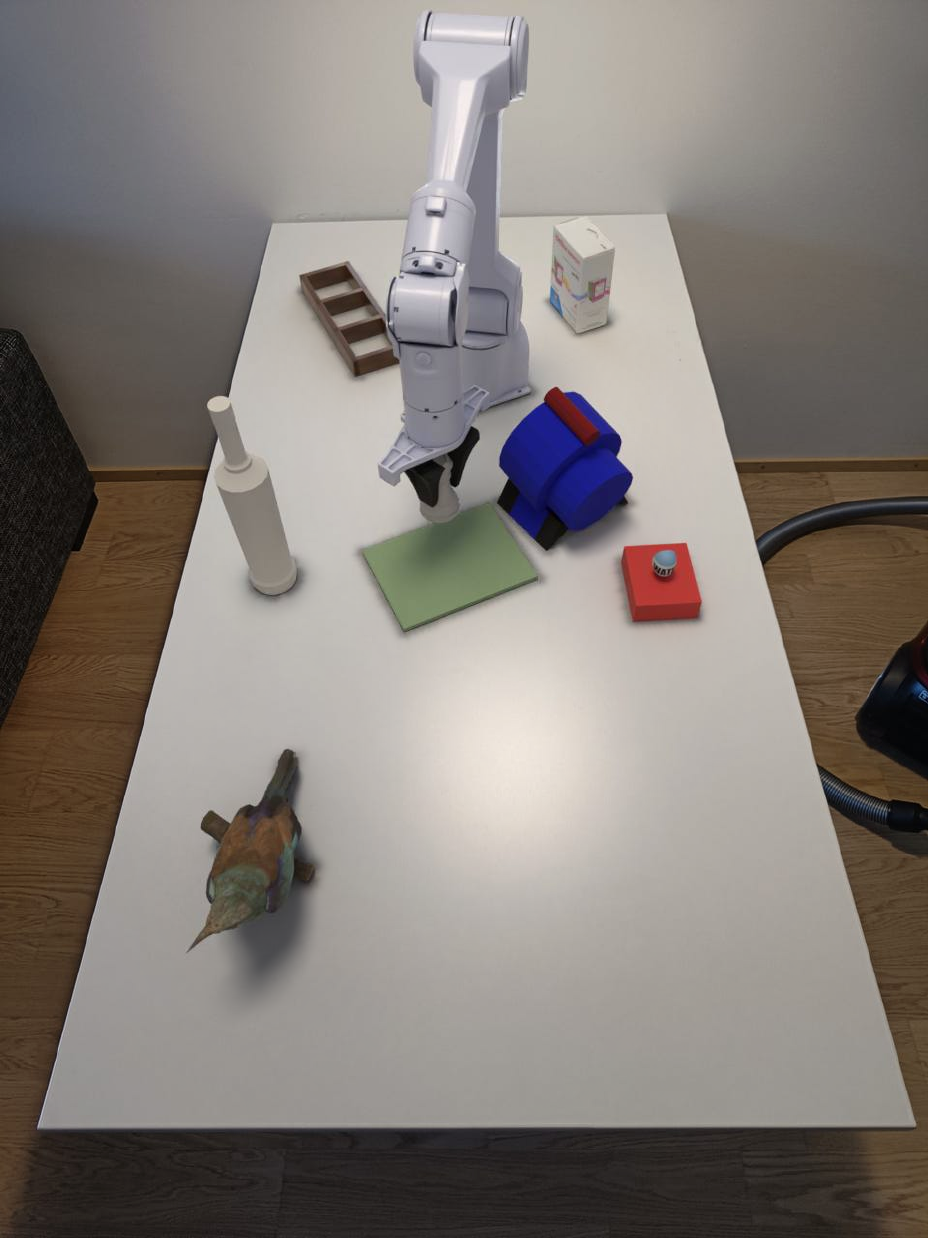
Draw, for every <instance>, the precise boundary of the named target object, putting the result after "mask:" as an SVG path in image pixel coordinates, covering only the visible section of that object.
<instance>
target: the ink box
mask: <svg viewBox="0 0 928 1238" xmlns="http://www.w3.org/2000/svg"><path fill="white" fill-rule="evenodd" d="M551 246H552V249H551V268H550V269H551V270H550V288H549V302H550V303H551V304H552V306H553V307H554V308H555V309H556V310H557V312H559V314H560V315H561V316H562V317H563V318H564V320H565V321H566V322H567V324H569V325H570V327H571V328H572V330H574V332H575V333H576V334H581V333H585V332H587V331H590V330H595V329H596V328H600V327H602V326H605V325H607V323H608V322H607V321H608V315H609V314H608V313H609V305H610V296H611V288H612V277H613V269H614V261H615V253H616V248H615V245H614V243H612V242H611V241H610V240H609V239H608V238H607V236H606V235H604V234H603V232H602V231H601V230H600V229H599V228H598V226H596V225H595V224H594V223H593V221H592V220H591V219H590V218H589V217H588V216H584V215H581V216H577V217H573V218H570V219H568V220H565V221H561V222H560V223H557V224H554V225H553V231H552V245H551Z"/></svg>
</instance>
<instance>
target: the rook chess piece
mask: <svg viewBox="0 0 928 1238" xmlns="http://www.w3.org/2000/svg"><path fill="white" fill-rule="evenodd" d="M433 461H435V462H436V463H438V464H439V465H441V466H443V467H444V468H446V469H445V470H444V472H443V473H442V476H441V478H440V482H439V497H438V502H437V505H435V506H434V507H430V506H429V505H427V504H425V503H424V502H422V501H421V500H419V512H420V514H421V516H422V517H423V518H424V519H426V520H427V521H428V522H431V523H433V524H434V523H445V522H448V521H450V520H452V519H453V518H454V517H456V516H457V515H458V514H459V513H460V511H461V503H460V498H459V496H458V493H457V492H456V490H454V487H453V486H451V484H450V477H451V472H450V470H451V469H452V467H453V462H452V460H451V458H450V457H449V456H447V453H445V454H443V455H440V456H438V457H436V458H433Z"/></svg>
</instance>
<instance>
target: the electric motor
mask: <svg viewBox="0 0 928 1238" xmlns="http://www.w3.org/2000/svg"><path fill="white" fill-rule="evenodd" d="M622 443H623V441H622V438H621V435H620V434H619V433H618V432H617V430H616V429H615V428H614V427H612V426H611V424H610V423H609V422H608V421H607V420H606V419H605V418H604V417H603V416H602V415H601V414H600V413H599V412H598V411H597V410H596V409H595V407H593V406H592V404H590V403H589V401H588V400H587V399H586V398H585V397H584V396H583V394H580V393H579V392H576V391H562V390H561V388H559V387H558V386H553V387H552V388H550V390H548V391H547V392H546V393H545V394H544V396H543V402H542V403H541V404H539V405H538V406H536V407H534V409H533V410H531V411H530V412H529V413H528V414H526V415H525V417H523V418H522V419H521V420H520V422H519V423H518V424H517V425H516V426H515V428H513V430H512V431H511V433H510V434H509V436H508V437H507V439H506V440H505V442H504V444H503V445H502V448H501V451H500V453H499V456H498V467H499V468H500V470H501V471H502V472H503V473H504V475H506V476H507V480H506V482H505V484H504V486H503V488H502V491H501V492H500V495H499V497H498V499H497V501H496V503H497V505H498V506H500V508H501V509H502V510H504V511H505V513H507V514H508V515H509V516H510V517H511V519H513V520H514V521H515V522H516V523H517V524H518V525H519V526H520V527H521V528H522V529H523V530H524V531H525V532H526V533H527V534H528V535H529V536H530V537H531V538H532V539H534V541H535V542H536V543H537V544H538V545H540V546H541V547H542V549H544V550H545V551H548V550H549V549H550V548H551V547H552V546H553V545H555V544H556V542H558V540H560V539H561V538H562V537H563V536H564V535H565V534H566V533H567V532H568V531H570V532H575V533H576V532H579V531H583V530H585V529H587V528H589V527H591V526H592V525H594V524H596V523H597V522H599V521H600V520H602V519H603V518H604V517H605V516H606V515H608V514H609V513H610V512H611V511H612V510H613V509H614V508H615V507H617V506H622V505H628V504H629V501H628V500H627V498H626V496H625V495H626V494H627V493H628V491H629V490H630V488H631V486H632V484H633V480H634V475H633V473H632V472H631V471H630V470H629V469H628V468H627V466H626V465H625V464H624V463H623V462H622V461H621V460H620V459H619V458H618V455H619V454H620V452H621V447H622Z"/></svg>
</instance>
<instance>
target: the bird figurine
mask: <svg viewBox="0 0 928 1238" xmlns="http://www.w3.org/2000/svg"><path fill="white" fill-rule="evenodd" d="M296 756H297V751H293V750H292V749H289V748H284V750H283V751H282V753H281V755H280V757H279V759H278V760H277V766H276V768H275V771H274V773H273V775H272V777H271V779H270V781H269V782H268V784H267V786H266V788H265V790H264V793H263V795H262V797H261V800H260V801H259V802H258V803H257V805H255V806H254V805H253V804H252V803H251V804H250V803H248V804H245V805H243V806H242V807H240V808H239V809H238V810H237V811H236V813H235V814H234V816H233V819H232V821H231V822H229V821H228V820H226V819H225V818H224V817H222V816H220V815H219V814H218V813H216V812H215V811H214V810H212V809H209V810H208V811H207V812H206V813H205V815H204V816H203V817H202V819H201V822H200V830H201V831H202V832H203V833H204V834H207V835H208V836H209V837H211V838H212V839H214V840H215V841H216V842H217V843H219V846H218V848H217V851H216V854H215V856H214V859H213V862H212V866H211V869H210V871H209V873H208V876H207V879H206V885H205V887H206V888H205V897H206V898H207V899H206V900H207V901H208V903H209V904H210V909H209V912H208V914H207V917H206V920H205V926H204V927H203V928H202V929H201V931H200V932H199V933H198V935H197V936H196V938H195V940H194V941H193V942H192V943H191V945H190V946H189V947H188V950H187V951H186V954H188V953H189V952H190V951H191V950H193V949H194V948H195V947H196V946H197V945H198V944H200V943H201V942H202V941H203V940H205V939H207V938H208V937H210V936H212V935H214V934H217V935H218V934H221V933H222V932H224V931H230V930H235V929H238V927H239V926H240V925H242V924H243V923H247V922H250V921H253V920H256V919H257V918H259V917H260V916H262V915H263V914H264V913H267V914H274V913H276V912H277V911H278V910H280V909H281V908H282V906H283V905H284V904H285V902H286V901H287V900H288V898H289V896H290V894H291V887H292V886H291V885H292V881H293V880H294V879H299V880H302V881H309V880H310V878H311V875H312V873H313V871H314V868H315V865H314V864H313V863H309V862H306V861H304V860H302V859H300V858H298V857H295V852H296V848H297V845H298V843H299V841H300V839H301V837H302V831H303V828H302V825H301V823H300V821H299V820H298V817H297V815H296V814H295V810H294V809H293V807H292V803H291V801H289V797H288V796H289V791H290V788H291V785H292V782H293V779H294V774H295V771H296V770H297V767H298V764H297V763H298V761H297V757H296Z"/></svg>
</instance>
